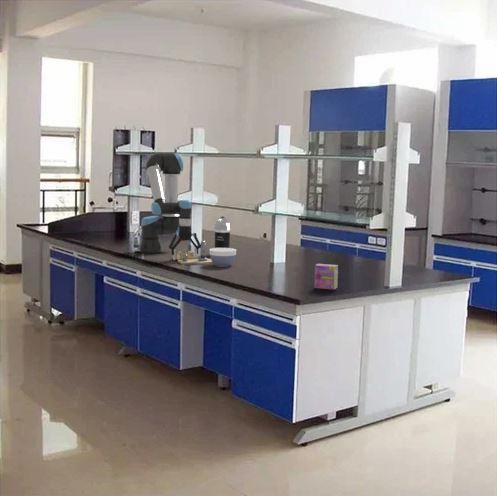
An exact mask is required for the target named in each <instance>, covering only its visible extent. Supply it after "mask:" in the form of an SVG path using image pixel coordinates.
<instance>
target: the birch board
mask: <svg viewBox="0 0 497 496" xmlns="http://www.w3.org/2000/svg"><path fill="white" fill-rule="evenodd" d="M177 262H178V263H179V264H181V265H183V266H186V265H187V266H188V265H189V266H190V265H192V264H193V265H208V264H209V265H210V264H212V265H215V264H214V263H213V262H212V260H211V258H207V261H199V258H197V259H194V258H193V259H188V261H186V262H185V261H183V260H177ZM193 265H192V266H193Z"/></svg>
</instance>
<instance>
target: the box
mask: <svg viewBox="0 0 497 496" xmlns="http://www.w3.org/2000/svg"><path fill="white" fill-rule="evenodd" d="M314 265H315V266H314V289H322V290H332V291H333V290H337V288H338V281H339V280H338V279H339V277H338V276H339V265H338V264H330V263H329V264H324V263H316V264H314Z"/></svg>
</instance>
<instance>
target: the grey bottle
mask: <svg viewBox="0 0 497 496" xmlns="http://www.w3.org/2000/svg"><path fill="white" fill-rule="evenodd" d="M214 248H231V223H230V220H228V219H227V218H226V217H225V216H220V217H219V218H218V219H217V220H216V221H215V223H214Z"/></svg>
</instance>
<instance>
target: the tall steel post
mask: <svg viewBox="0 0 497 496" xmlns="http://www.w3.org/2000/svg"><path fill="white" fill-rule="evenodd" d="M200 245H201V248H200V257H198V259H199V261H207V259H208V257H207V256H206V253H207V252H206V250H207V249H206V245H207V243H206V241H205V240H201V241H200Z"/></svg>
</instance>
